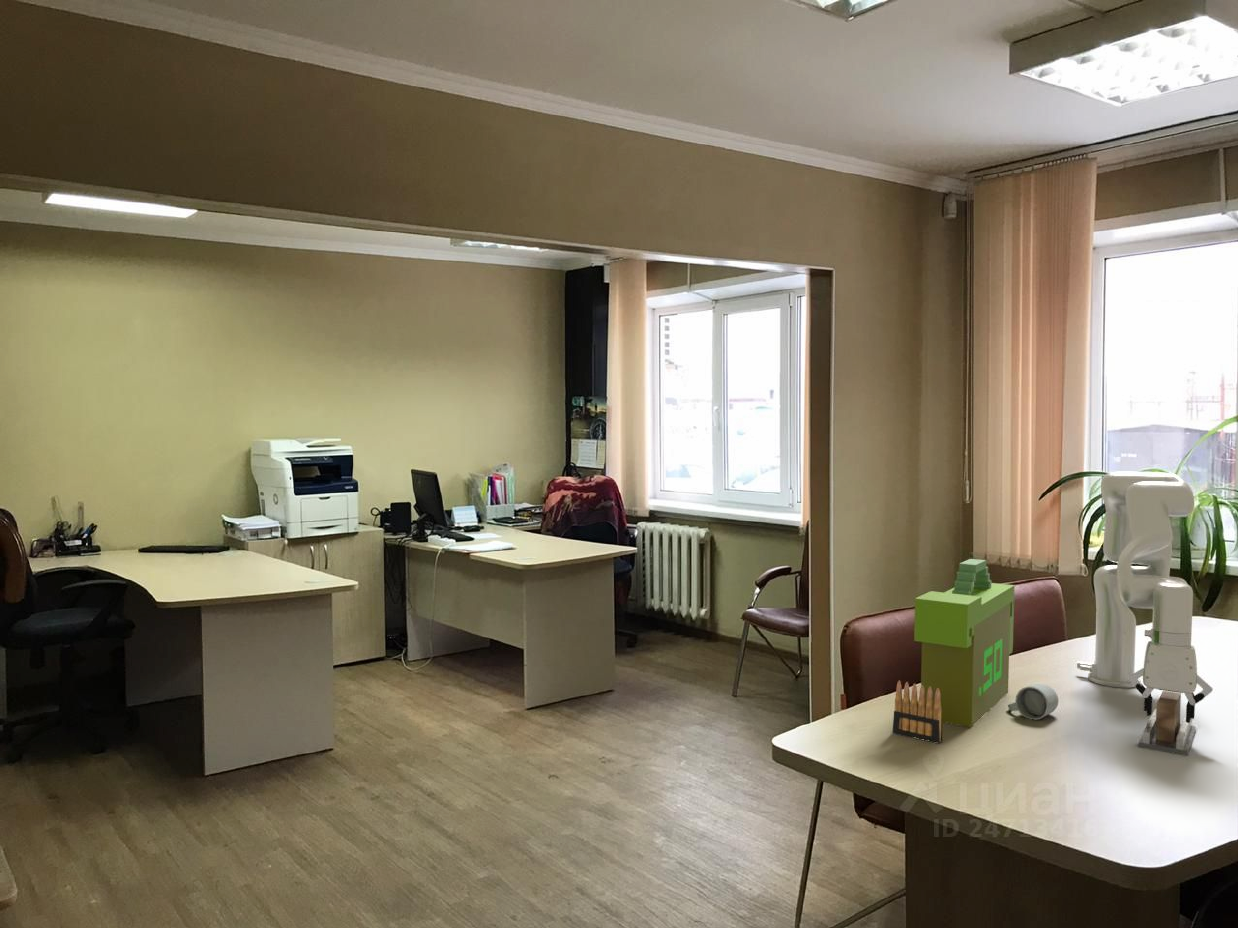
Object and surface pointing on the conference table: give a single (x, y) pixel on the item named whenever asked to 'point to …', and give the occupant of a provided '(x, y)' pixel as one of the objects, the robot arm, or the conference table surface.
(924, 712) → the ammunition clip
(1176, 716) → the door panel
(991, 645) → the ammo box
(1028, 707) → the ceramic mug
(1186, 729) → the floor track
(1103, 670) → the robot arm
